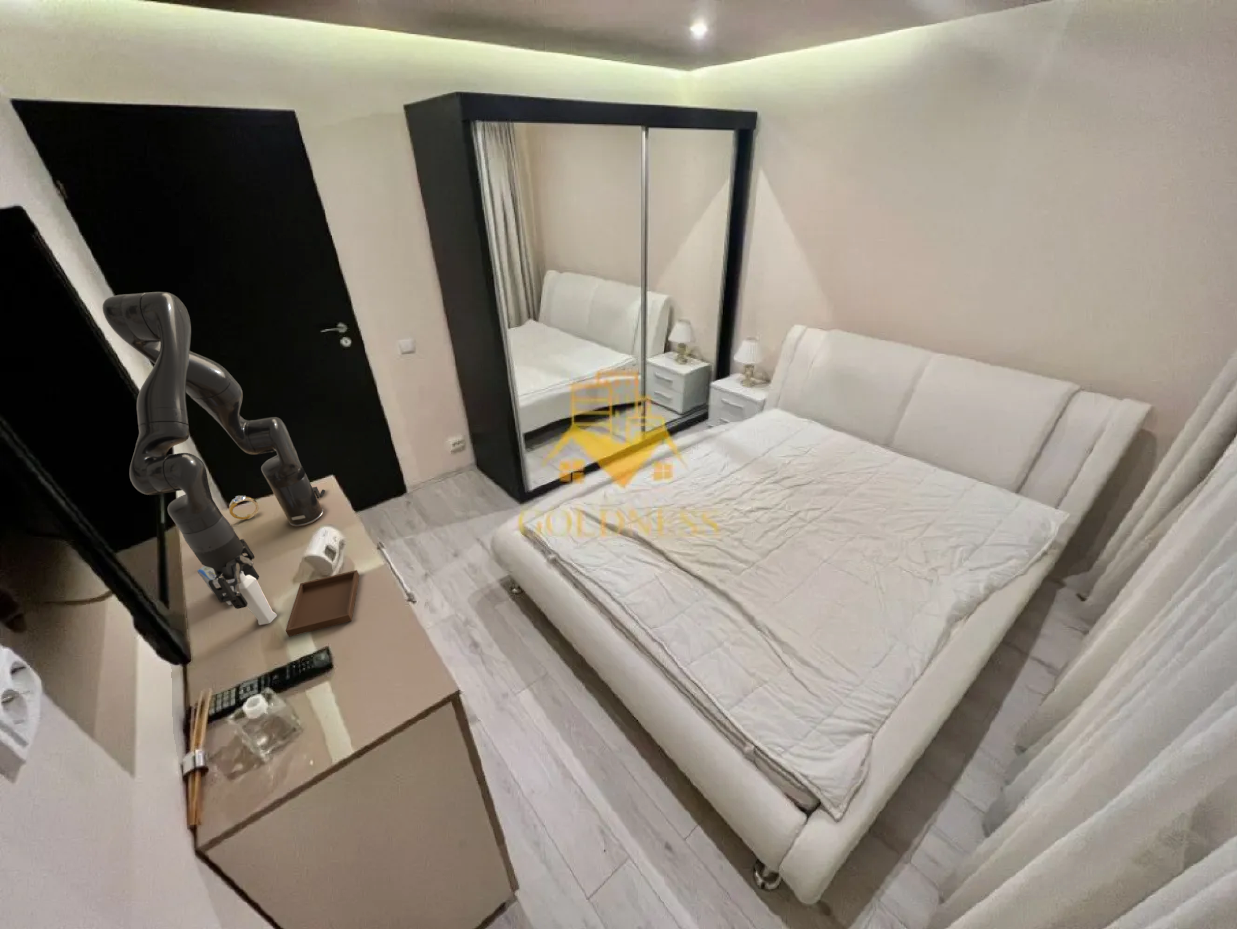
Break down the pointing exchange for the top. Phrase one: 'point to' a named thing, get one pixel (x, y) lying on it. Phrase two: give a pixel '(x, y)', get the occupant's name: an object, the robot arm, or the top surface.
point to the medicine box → (210, 577)
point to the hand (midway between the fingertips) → (248, 592)
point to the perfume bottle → (255, 599)
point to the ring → (239, 499)
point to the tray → (323, 603)
